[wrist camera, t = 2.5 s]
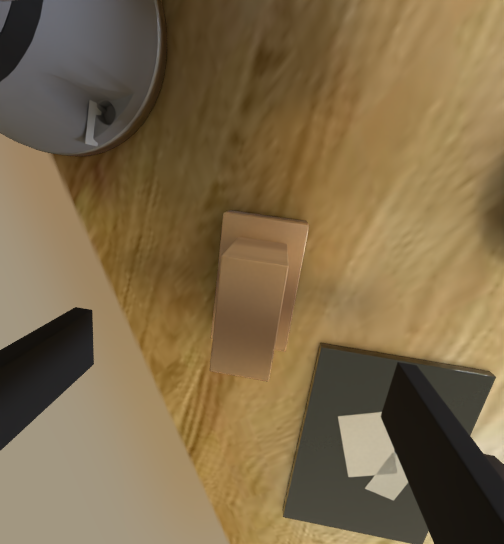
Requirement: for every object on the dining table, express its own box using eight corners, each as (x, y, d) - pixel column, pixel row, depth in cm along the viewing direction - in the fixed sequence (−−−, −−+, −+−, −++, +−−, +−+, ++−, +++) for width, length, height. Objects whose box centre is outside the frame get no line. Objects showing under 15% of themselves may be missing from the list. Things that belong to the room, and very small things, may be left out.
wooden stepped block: (229, 209, 23) (199, 222, 15) (306, 220, 22) (319, 240, 14) (217, 325, 26) (186, 389, 18) (285, 336, 25) (286, 407, 17)
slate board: (320, 342, 25) (321, 347, 24) (489, 371, 24) (496, 377, 23) (283, 509, 31) (282, 517, 30) (418, 537, 30) (422, 546, 29)
